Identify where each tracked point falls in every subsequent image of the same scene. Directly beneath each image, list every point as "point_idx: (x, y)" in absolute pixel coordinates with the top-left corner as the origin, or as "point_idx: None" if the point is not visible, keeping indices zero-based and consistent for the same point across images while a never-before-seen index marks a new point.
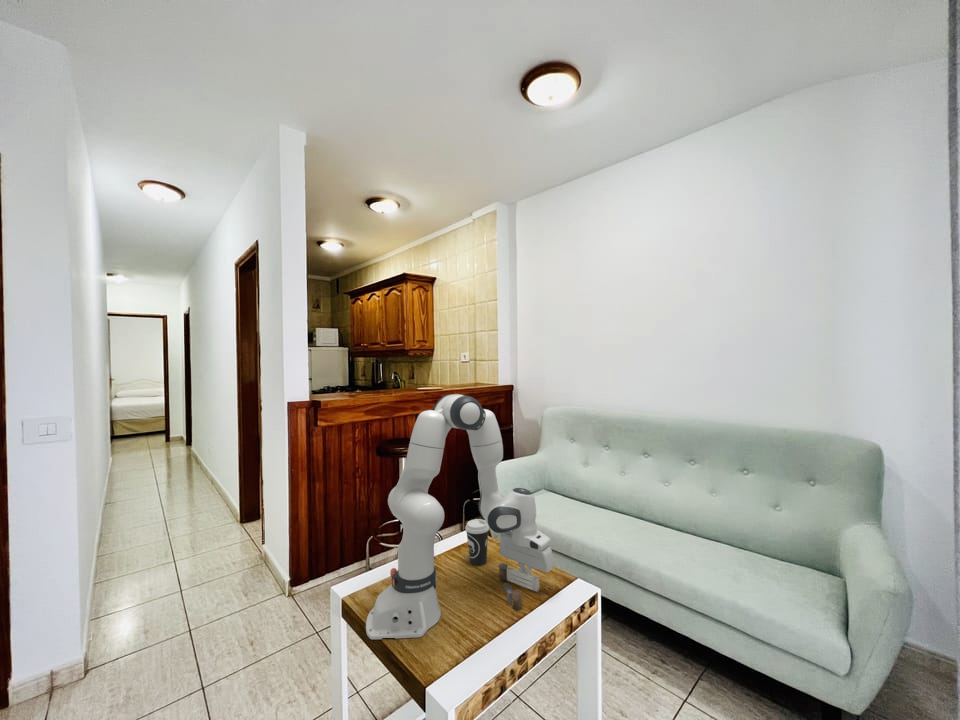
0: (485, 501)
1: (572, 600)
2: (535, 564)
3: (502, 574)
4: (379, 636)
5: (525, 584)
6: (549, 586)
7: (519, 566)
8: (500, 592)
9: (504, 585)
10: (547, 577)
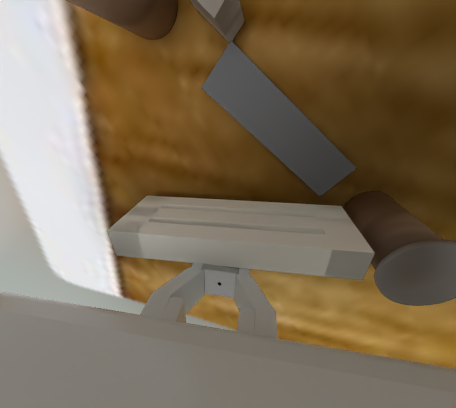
0: None
1: (45, 222)
2: (10, 345)
3: (391, 216)
4: None
5: (207, 206)
6: None
7: (260, 299)
8: (338, 88)
9: (339, 164)
10: None
